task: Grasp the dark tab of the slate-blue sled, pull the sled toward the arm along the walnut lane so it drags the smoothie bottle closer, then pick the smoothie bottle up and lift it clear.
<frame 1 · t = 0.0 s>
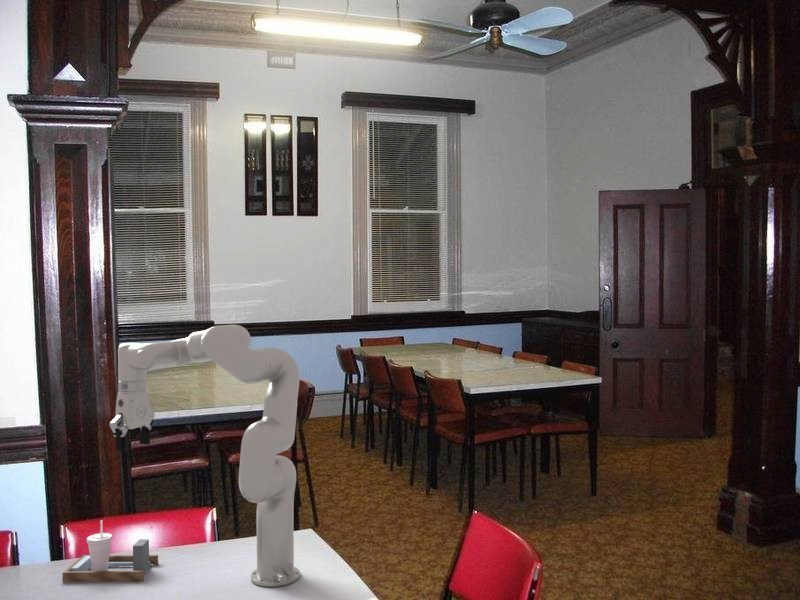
hand: (133, 447, 203), 31 cm above the table, tool pointing down, fingers open, 9 cm apart
sled: (112, 557, 193), point 4 cm above the table, slide at 0.0 cm
smoothie: (100, 573, 193), resting in sled
lane: (101, 572, 193), on the table
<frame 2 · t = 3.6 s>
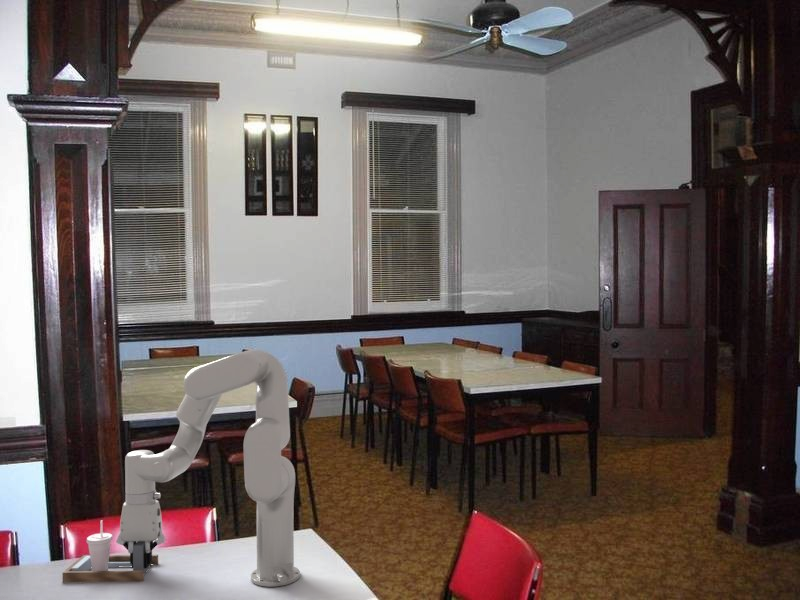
hand: (141, 565, 193), 2 cm above the table, tool pointing down, fingers closed on sled, 2 cm apart
sled: (112, 557, 193), point 4 cm above the table, slide at 0.0 cm, touching gripper
everything else where it was.
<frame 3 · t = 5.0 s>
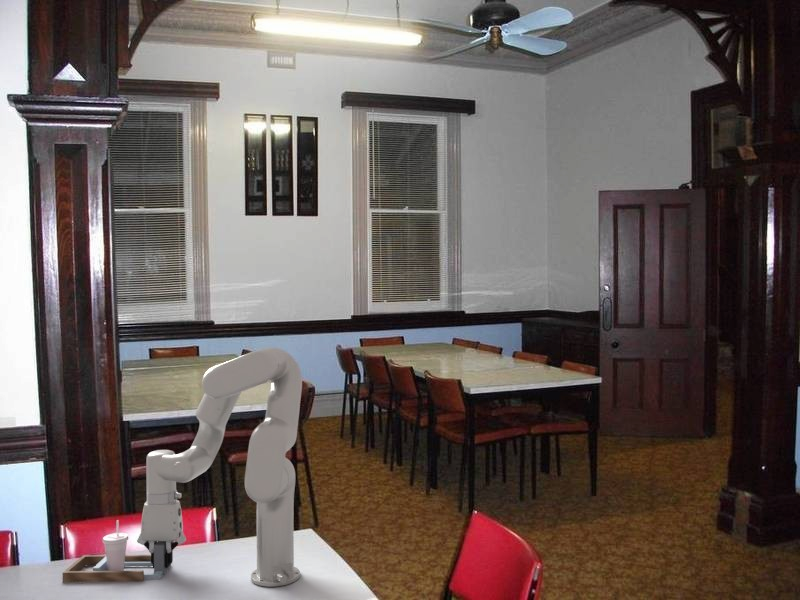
hand: (161, 565, 193), 2 cm above the table, tool pointing down, fingers closed on sled, 2 cm apart
sled: (133, 557, 193), point 4 cm above the table, slide at 5.5 cm, touching gripper, smoothie
smoothie: (115, 573, 193), resting in sled
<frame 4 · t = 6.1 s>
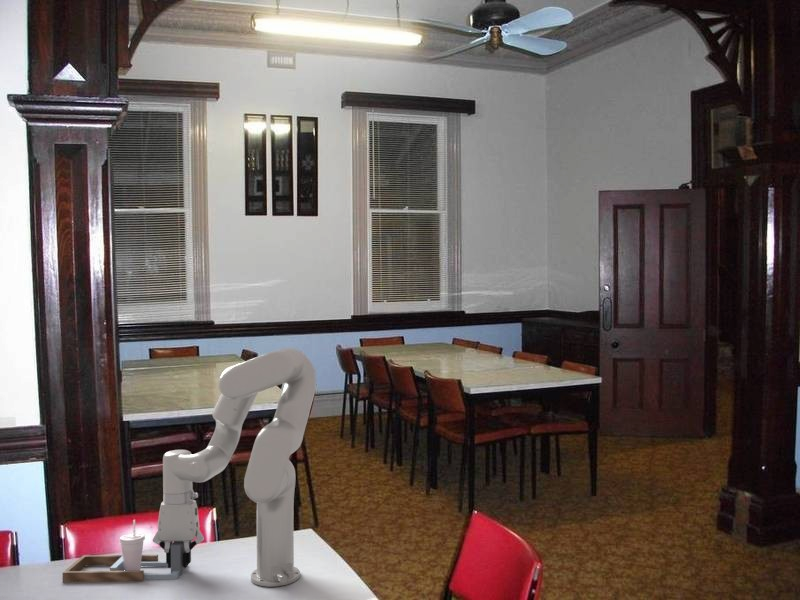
hand: (178, 565, 193), 2 cm above the table, tool pointing down, fingers open, 3 cm apart
sled: (149, 557, 193), point 4 cm above the table, slide at 9.9 cm
smoothie: (132, 573, 193), resting in sled
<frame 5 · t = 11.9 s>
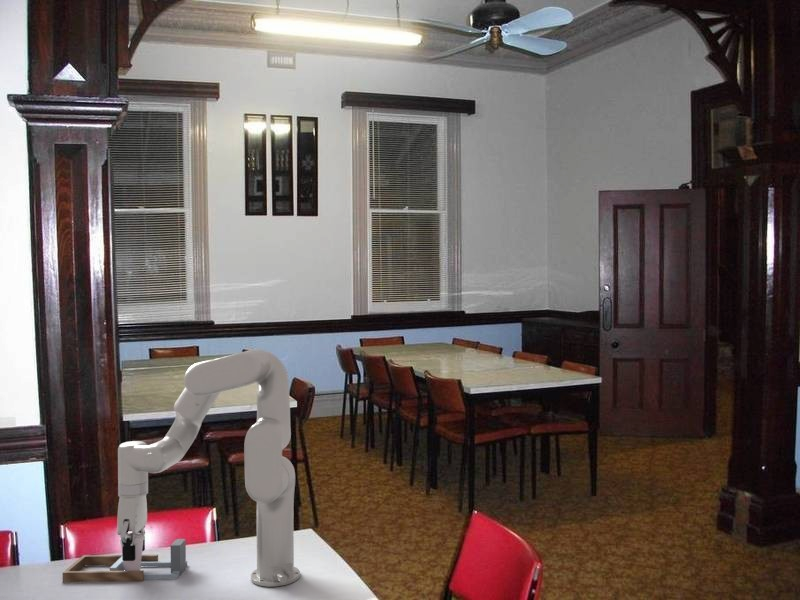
hand: (133, 555, 193), 5 cm above the table, tool pointing down, fingers closed on smoothie, 6 cm apart
smoothie: (132, 573, 193), resting in sled, touching gripper
everything else where it was.
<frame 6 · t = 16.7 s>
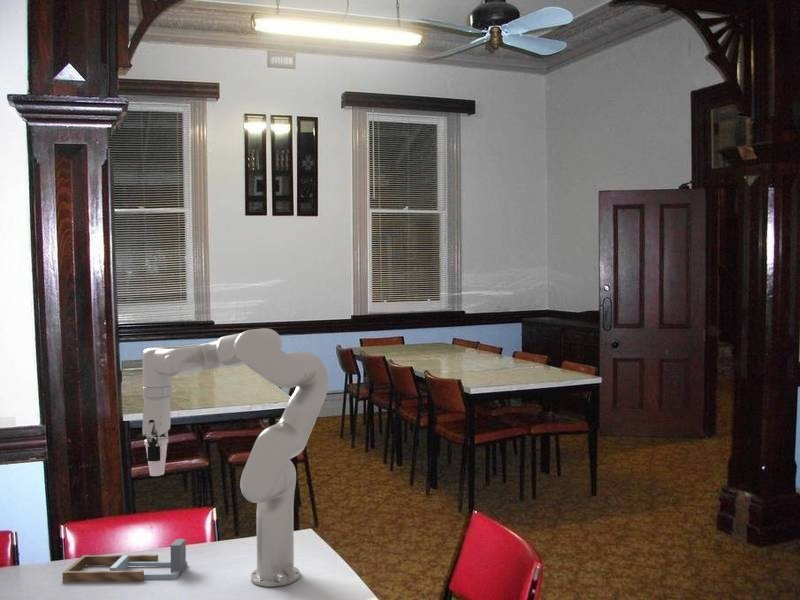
hand: (158, 457, 198), 29 cm above the table, tool pointing down, fingers closed on smoothie, 6 cm apart
smoothie: (157, 475, 198), point 25 cm above the table, touching gripper
everything else where it was.
at the end: sled slide at 9.9 cm; the gripper is holding smoothie; smoothie point 24.5 cm above the table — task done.
